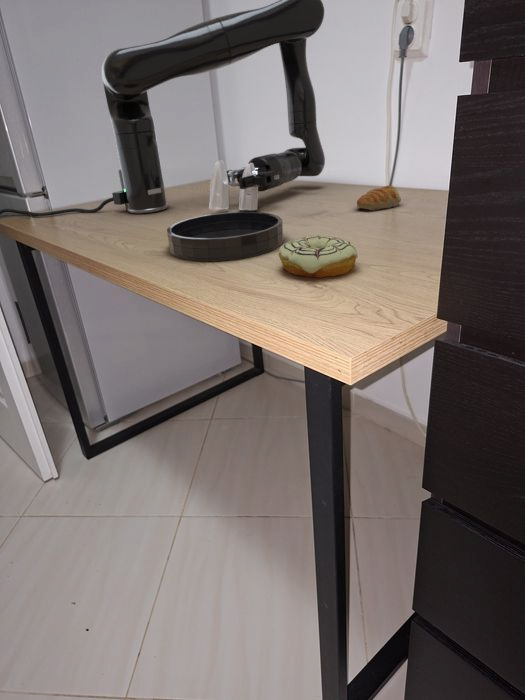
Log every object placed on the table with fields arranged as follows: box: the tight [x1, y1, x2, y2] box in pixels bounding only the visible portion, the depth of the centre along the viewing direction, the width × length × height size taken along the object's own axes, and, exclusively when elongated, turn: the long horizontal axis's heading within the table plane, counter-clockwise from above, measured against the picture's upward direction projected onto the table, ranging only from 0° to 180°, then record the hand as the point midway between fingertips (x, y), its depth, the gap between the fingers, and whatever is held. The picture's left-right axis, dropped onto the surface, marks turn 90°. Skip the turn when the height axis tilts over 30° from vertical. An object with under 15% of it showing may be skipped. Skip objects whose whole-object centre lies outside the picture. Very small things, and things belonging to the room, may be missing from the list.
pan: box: [166, 211, 284, 262], centre depth 85 cm, size 19×19×4 cm
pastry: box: [356, 185, 402, 211], centre depth 103 cm, size 9×7×4 cm
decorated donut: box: [278, 235, 359, 279], centre depth 69 cm, size 10×11×4 cm
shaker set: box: [208, 159, 259, 214], centre depth 107 cm, size 12×4×11 cm, turn 112°
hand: (226, 183), depth 105 cm, fingers closed on shaker set, 7 cm apart
